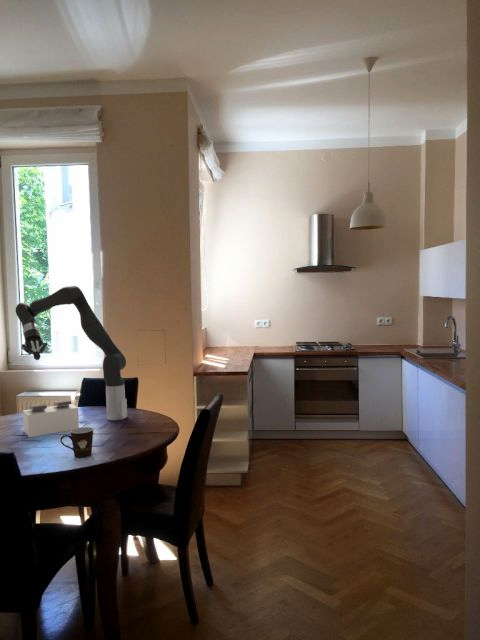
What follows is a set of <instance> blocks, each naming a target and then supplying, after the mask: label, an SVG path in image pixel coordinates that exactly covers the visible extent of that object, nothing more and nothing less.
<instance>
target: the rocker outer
mask: <svg viewBox="0 0 480 640" xmlns="http://www.w3.org/2000/svg"><path fill="white" fill-rule="evenodd" d="M47 407H48V404H44V403H37V404H30V405H29V409H31V410H39V409H46V408H47ZM29 409H28V410H29Z"/></svg>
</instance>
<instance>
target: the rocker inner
mask: <svg viewBox="0 0 480 640" xmlns="http://www.w3.org/2000/svg"><path fill="white" fill-rule="evenodd" d="M69 404H72V400H64V401H56V402H53V406H62V405H69Z"/></svg>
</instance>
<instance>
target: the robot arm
mask: <svg viewBox="0 0 480 640" xmlns="http://www.w3.org/2000/svg"><path fill="white" fill-rule="evenodd" d="M64 305H74V307H75V308H76V309H77V310H78V311H77V312H78V313H79V316H80V317H79V318H80V325H81V328H82V331H83V332H84V334H85V335H86V337H87V338H88V339H89V340H90V341H91V342H92V343H93V344H94V345H95V346H97V347H98V348H99V349H100V350H101V351H102V352H103V354H104V355H105V357H104V359H103V361H102V373H103V380H104V382H105V397H106V398H105V402H106V419H107V420H108V421H122V420H124V419H126V418H127V417H128V408H127V407H128V404H127V401H128V400H127V398H126V391H125V379H124V378H123V377H122V376H121V375H122V374H121V371H122V370H124V368H125V367H126V365H127V359H126V357H125V356H124V354H123V353H122V351H121V350H120V349H119V348H118V347H117V345H116V344H115V343H114V341H113V340H112V338H111V337H110V335H109V334H108V332H107V331H106V329H105V328H104V326H103V325H102V322H101V321H100V320H99V319H98V317H97V316H96V313H95V311H93V309H92V308H91V306H90V305H89V302H88V300H87V299H86V296H85V295H84V292H83V291H82V290H81V288H80V287H78V286H77V285H68V286H63V287H62V288H60V289H57V290H56V291H55V292H54V293H52V294H50V295H47V296H44V297H41V298H38V299H36V300H34V301H31V303H30V304H28V303H25V302H20V303H18V304H17V305H16V306H15V314H16V316H17V318H18V319H19V321H20V323H21V326H22V333H23V337H24V341H25V342H24V344H22V343H21V350H23V351H24V352H26V353H27V354H29V355H32V356H33V359H34V360H36V361H40V359H41V354H42V353H44V351H45V350H46V348H47V347H48V342H44V341H43V340H42V338H41V333H40V331H39V330H40V329H39V327H38V325H37V324H38V323H37V320H36V318H35V317H37V316H38V315H39V314H41V313H44V312H47V311H49V310H51V309H52V308H54V307H57V306H64ZM41 346H42V347H41Z"/></svg>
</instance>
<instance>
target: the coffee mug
mask: <svg viewBox="0 0 480 640" xmlns="http://www.w3.org/2000/svg"><path fill="white" fill-rule="evenodd" d="M69 431H70V433H69V434H70V435H68V434H65V435H62V436H61V437H60V439H59V440H60V443H61V445H62V446H64V447H65V448H68V449H69V450H72V451H73V456H74V458H76V459H84V458H88V457H91V456H92V455H93V454H92V453H93V441H94V440H93V439H94V428H93V427H89V426H84V427H83V426H82V427H79V428H76V429H73V430H69ZM65 437H66V438H67V437H68V438H69V439H70V440H71V443H72V446H68V445H67V444H65V443H64V442H63V439H64V438H65Z"/></svg>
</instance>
